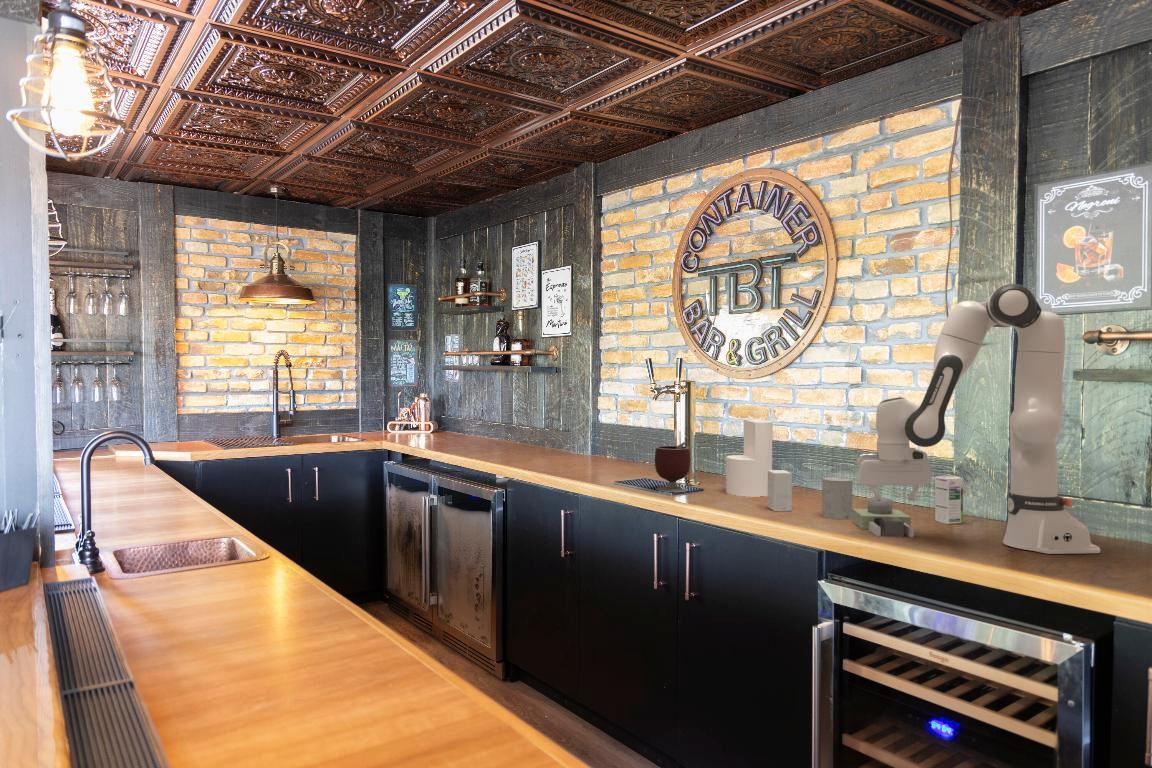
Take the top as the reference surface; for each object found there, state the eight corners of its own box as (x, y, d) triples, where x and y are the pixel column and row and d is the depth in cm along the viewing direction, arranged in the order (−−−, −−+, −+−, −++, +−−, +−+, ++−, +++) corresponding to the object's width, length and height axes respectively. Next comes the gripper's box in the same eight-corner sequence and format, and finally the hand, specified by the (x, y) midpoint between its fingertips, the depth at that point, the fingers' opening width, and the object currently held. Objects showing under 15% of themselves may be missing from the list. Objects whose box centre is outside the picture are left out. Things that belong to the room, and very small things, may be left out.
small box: (792, 511, 256) (792, 473, 255) (773, 511, 255) (774, 473, 255) (784, 507, 264) (785, 469, 263) (766, 507, 264) (767, 469, 263)
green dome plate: (898, 522, 237) (898, 497, 237) (920, 537, 217) (920, 509, 216) (852, 521, 239) (852, 496, 239) (869, 535, 218) (869, 508, 218)
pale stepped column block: (764, 489, 302) (765, 419, 302) (777, 496, 285) (778, 422, 284) (721, 489, 302) (722, 419, 301) (731, 496, 284) (732, 422, 284)
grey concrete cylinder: (854, 519, 242) (855, 481, 242) (823, 518, 244) (823, 480, 244) (850, 514, 251) (850, 477, 251) (820, 512, 253) (820, 476, 253)
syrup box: (948, 524, 235) (948, 478, 235) (934, 520, 241) (934, 475, 240) (963, 523, 236) (963, 477, 236) (949, 520, 242) (949, 474, 242)
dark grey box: (897, 532, 224) (897, 517, 224) (903, 537, 218) (903, 521, 217) (879, 531, 225) (879, 516, 225) (885, 536, 218) (885, 520, 218)
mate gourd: (647, 489, 302) (648, 439, 301) (676, 486, 308) (677, 437, 307) (669, 495, 288) (670, 442, 287) (699, 492, 294) (700, 441, 294)
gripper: (858, 454, 219) (860, 502, 219) (933, 453, 216) (934, 501, 216) (853, 452, 225) (855, 499, 225) (925, 451, 223) (927, 498, 223)
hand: (894, 500), depth 221 cm, fingers open, 8 cm apart
